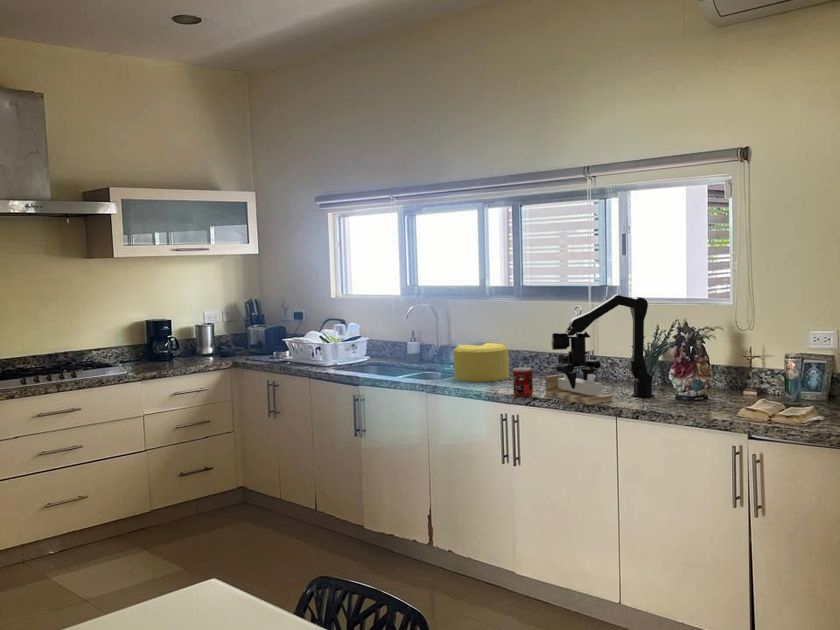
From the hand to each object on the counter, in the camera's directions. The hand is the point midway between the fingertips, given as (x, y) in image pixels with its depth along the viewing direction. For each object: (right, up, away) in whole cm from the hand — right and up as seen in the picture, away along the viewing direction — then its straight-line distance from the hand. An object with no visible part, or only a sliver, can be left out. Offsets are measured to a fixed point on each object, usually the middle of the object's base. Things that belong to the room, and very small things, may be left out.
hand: (579, 387), depth 316 cm
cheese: (-34, -1, +63) cm, 71 cm away
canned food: (-21, -4, +14) cm, 25 cm away
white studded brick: (0, -1, 0) cm, 1 cm away
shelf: (0, -4, 0) cm, 5 cm away
